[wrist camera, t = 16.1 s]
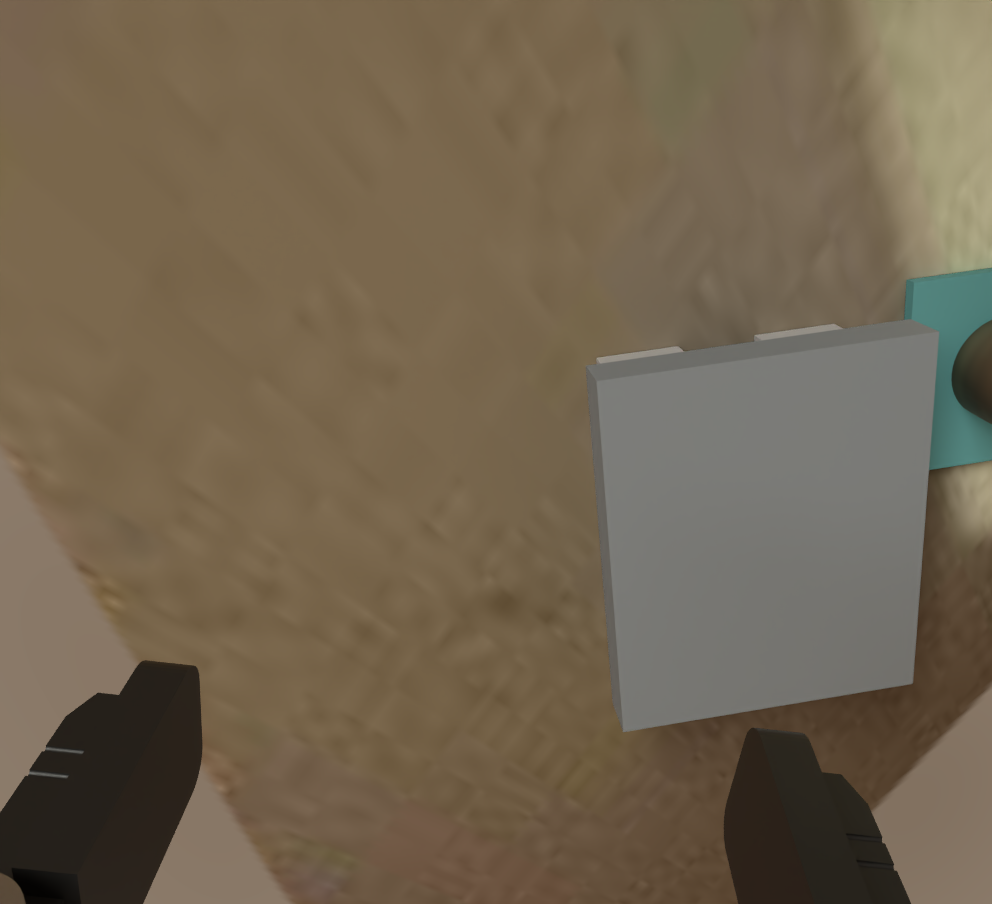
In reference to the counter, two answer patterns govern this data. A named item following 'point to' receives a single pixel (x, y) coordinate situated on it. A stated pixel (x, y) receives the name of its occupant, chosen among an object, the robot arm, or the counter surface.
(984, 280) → the teal pad
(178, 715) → the robot arm
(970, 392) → the walnut roller
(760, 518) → the grey stool
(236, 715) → the counter surface
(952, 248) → the counter surface
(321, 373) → the counter surface
